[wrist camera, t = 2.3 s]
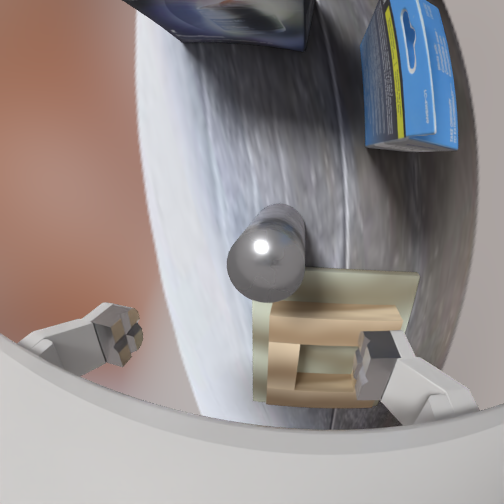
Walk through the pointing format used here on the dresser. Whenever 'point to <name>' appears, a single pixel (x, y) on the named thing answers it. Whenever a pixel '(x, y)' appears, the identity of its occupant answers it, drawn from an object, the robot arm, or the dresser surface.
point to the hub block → (324, 334)
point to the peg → (269, 255)
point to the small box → (233, 20)
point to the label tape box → (408, 79)
